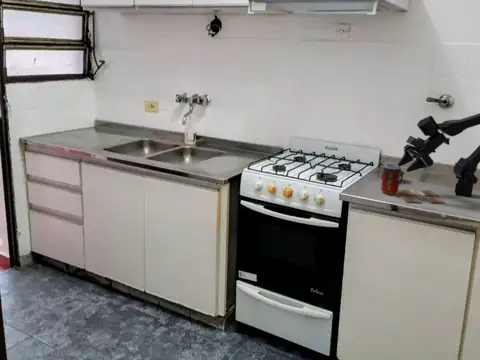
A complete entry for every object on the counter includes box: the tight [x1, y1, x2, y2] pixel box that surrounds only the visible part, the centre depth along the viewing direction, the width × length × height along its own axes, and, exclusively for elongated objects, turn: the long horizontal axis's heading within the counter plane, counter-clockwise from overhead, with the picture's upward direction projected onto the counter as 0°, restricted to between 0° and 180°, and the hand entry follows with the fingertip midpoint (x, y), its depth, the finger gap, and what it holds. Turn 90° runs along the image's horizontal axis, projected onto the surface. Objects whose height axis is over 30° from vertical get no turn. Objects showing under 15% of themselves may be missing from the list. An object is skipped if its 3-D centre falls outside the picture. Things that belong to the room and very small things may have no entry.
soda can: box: [380, 163, 402, 196], centre depth 215 cm, size 7×7×12 cm
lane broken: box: [399, 195, 446, 205], centre depth 208 cm, size 16×7×1 cm, turn 95°
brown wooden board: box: [397, 189, 440, 198], centre depth 217 cm, size 16×7×1 cm, turn 95°
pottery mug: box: [380, 170, 405, 183], centre depth 236 cm, size 12×10×8 cm
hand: (402, 168), depth 214 cm, fingers open, 9 cm apart
